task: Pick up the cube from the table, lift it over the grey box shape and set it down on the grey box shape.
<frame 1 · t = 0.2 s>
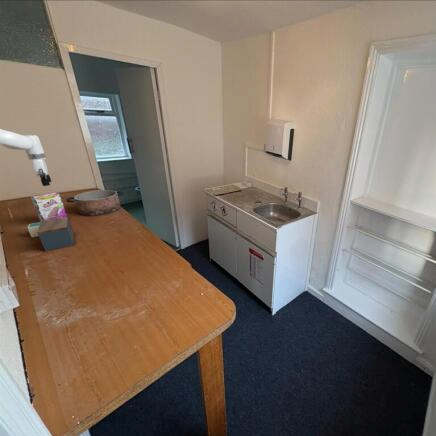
hand: (47, 183, 148), 18 cm above the table, tool pointing down, fingers open, 9 cm apart
candy bar box: (55, 221, 139), on the table
cooking pot: (101, 210, 158), on the table
cube: (40, 234, 124), on the table
grey box shape: (60, 241, 118), on the table
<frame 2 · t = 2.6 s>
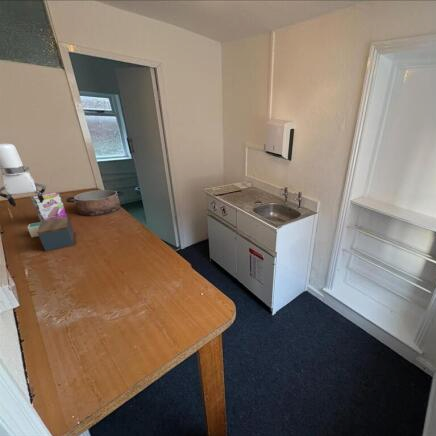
hand: (28, 203, 118), 17 cm above the table, tool pointing down, fingers open, 9 cm apart
nothing on the table moved.
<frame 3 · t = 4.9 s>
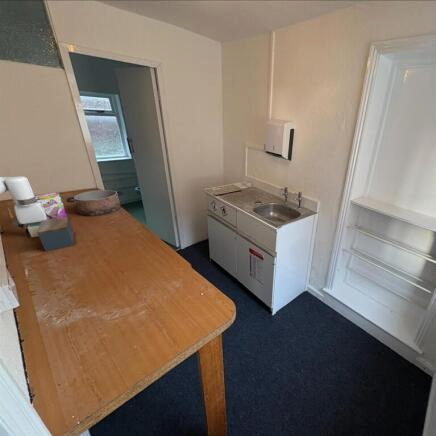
hand: (39, 232, 124), 1 cm above the table, tool pointing down, fingers closed on cube, 5 cm apart
cube: (40, 234, 124), on the table, touching gripper
everything else where it was.
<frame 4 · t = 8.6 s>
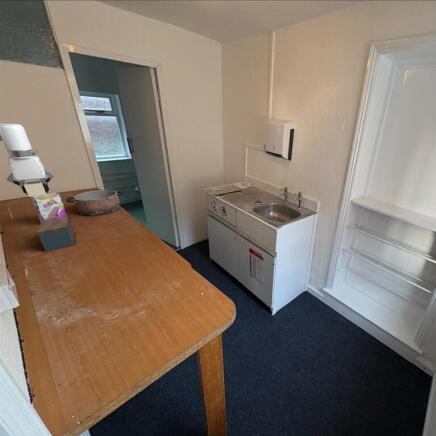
hand: (37, 192, 109), 25 cm above the table, tool pointing down, fingers closed on cube, 5 cm apart
cube: (38, 194, 109), point 25 cm above the table, touching gripper
everything else where it was.
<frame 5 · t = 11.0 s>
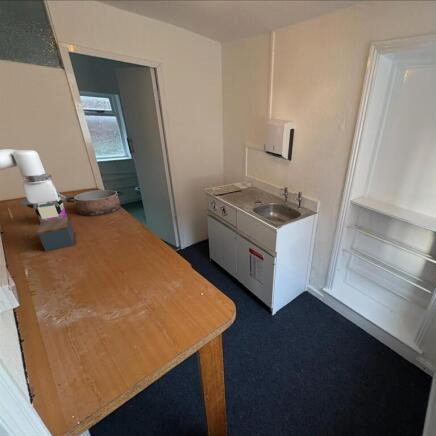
hand: (50, 214, 112), 15 cm above the table, tool pointing down, fingers closed on cube, 5 cm apart
cube: (50, 215, 113), point 14 cm above the table, touching gripper
everything else where it was.
when the fingers open (11 cm above the table, at t = 12.5 s): cube stays where it is, resting on grey box shape.
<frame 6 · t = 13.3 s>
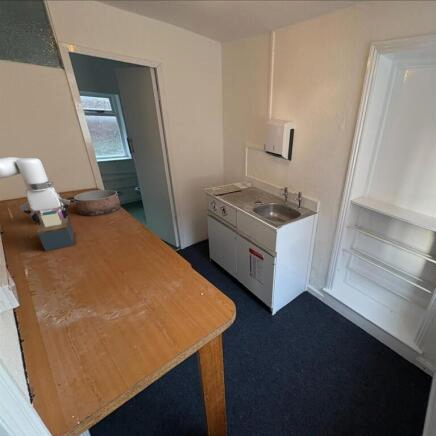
hand: (52, 219, 113), 12 cm above the table, tool pointing down, fingers open, 9 cm apart
cube: (53, 223, 114), point 10 cm above the table, touching grey box shape
everything else where it was.
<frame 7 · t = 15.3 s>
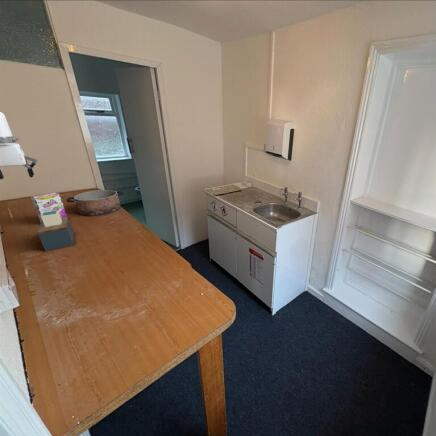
hand: (17, 177, 112), 31 cm above the table, tool pointing down, fingers open, 9 cm apart
nothing on the table moved.
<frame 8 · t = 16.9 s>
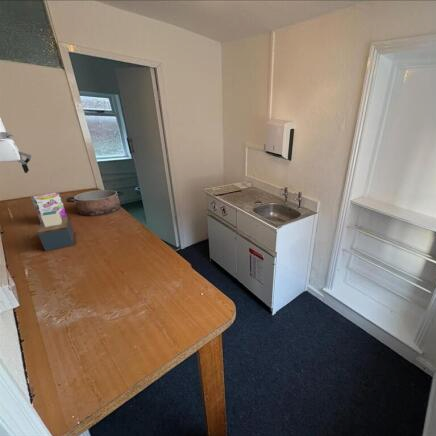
hand: (12, 173, 113), 32 cm above the table, tool pointing down, fingers open, 9 cm apart
nothing on the table moved.
at the end: cube inside the target area on the grey box shape (0.1 cm from its centre), point 10.0 cm above the grey box shape's base; cube tilted 0°; the gripper is holding nothing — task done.
